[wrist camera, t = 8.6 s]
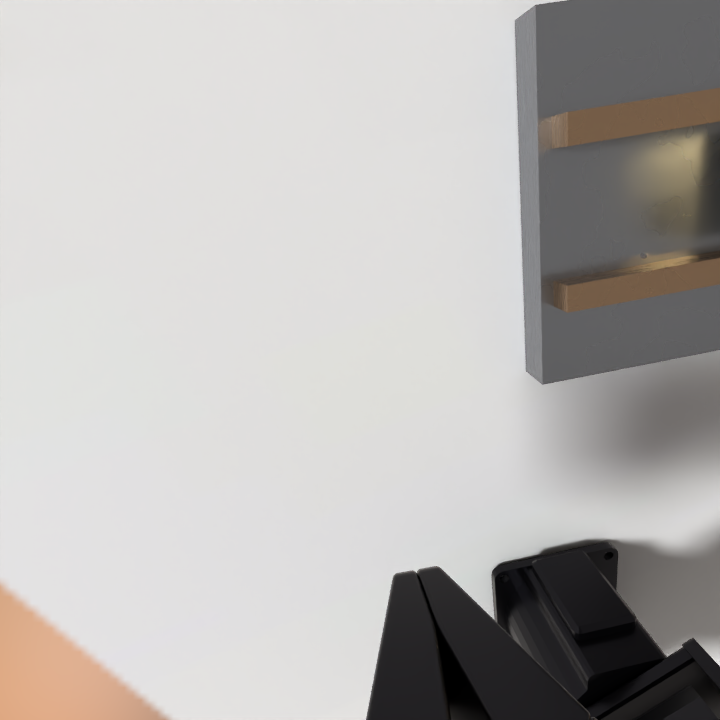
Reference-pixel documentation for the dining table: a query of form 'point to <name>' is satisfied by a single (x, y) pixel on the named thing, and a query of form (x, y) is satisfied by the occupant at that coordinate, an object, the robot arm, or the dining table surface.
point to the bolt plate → (619, 183)
